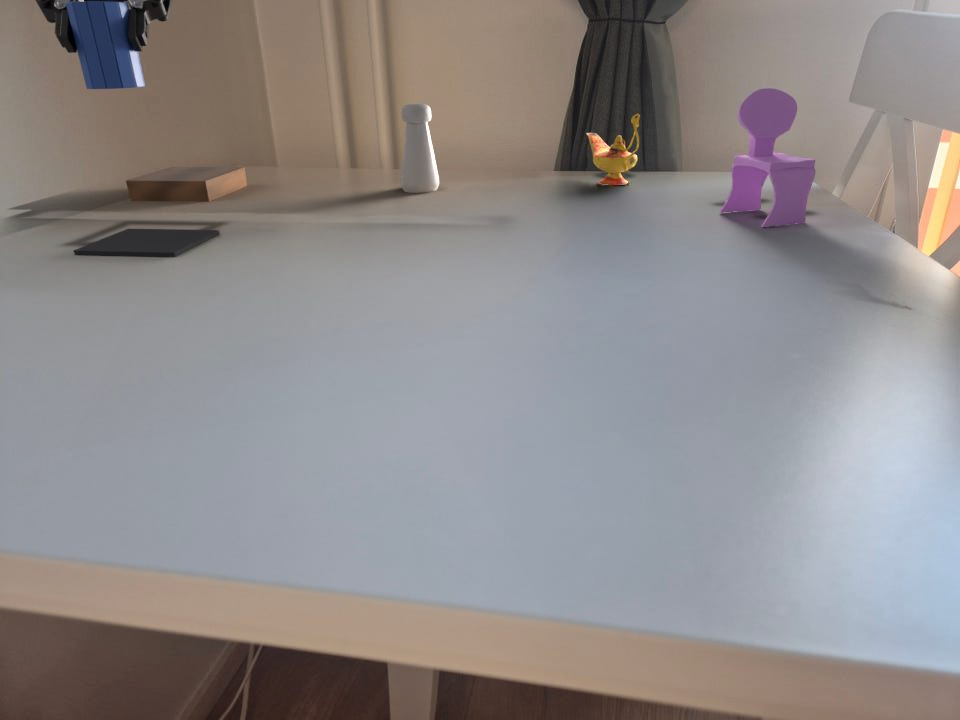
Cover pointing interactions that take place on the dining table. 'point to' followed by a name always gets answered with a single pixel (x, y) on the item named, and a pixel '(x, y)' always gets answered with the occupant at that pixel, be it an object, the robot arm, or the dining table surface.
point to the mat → (147, 242)
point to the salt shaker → (418, 151)
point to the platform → (187, 184)
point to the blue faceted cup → (105, 44)
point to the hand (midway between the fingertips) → (102, 45)
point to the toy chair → (770, 161)
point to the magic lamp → (614, 156)
